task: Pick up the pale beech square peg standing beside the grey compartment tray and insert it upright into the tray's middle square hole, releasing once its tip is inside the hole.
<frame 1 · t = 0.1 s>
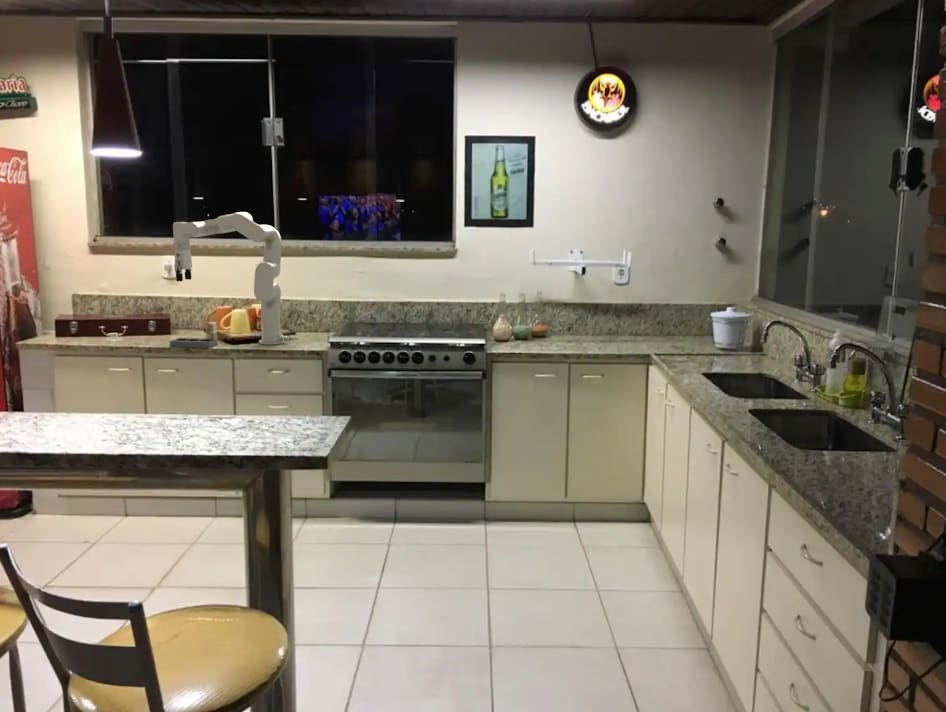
hand: (183, 280, 394), 31 cm above the worktop, fingers open, 9 cm apart
beech peg: (212, 342, 395), on the worktop
grey compartment tray: (194, 345, 383), on the worktop
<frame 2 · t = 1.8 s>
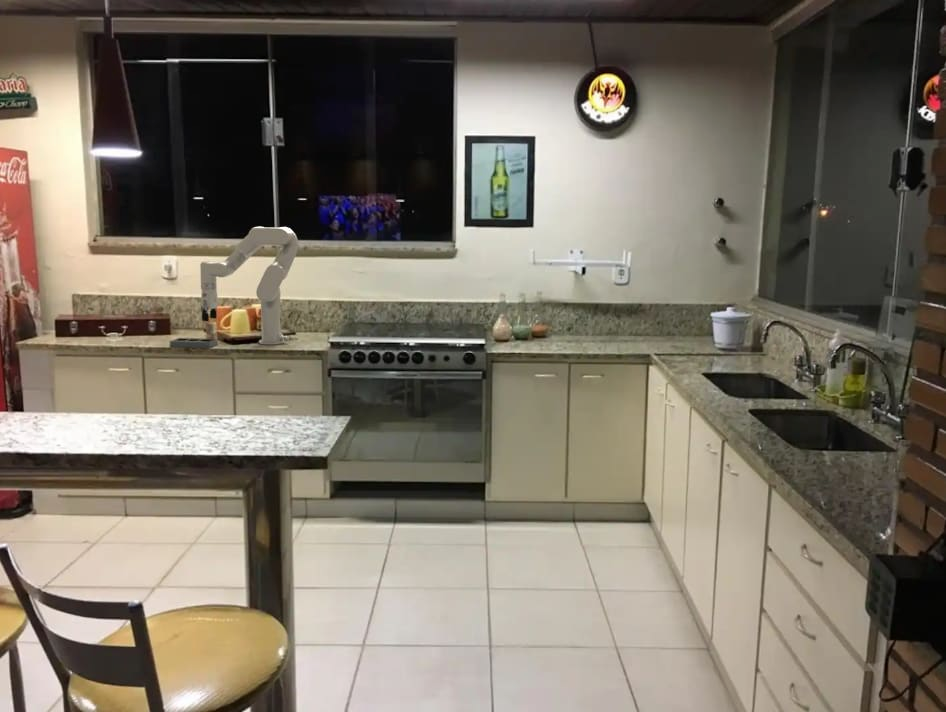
hand: (209, 319, 393), 12 cm above the worktop, fingers open, 9 cm apart
nothing on the worktop moved.
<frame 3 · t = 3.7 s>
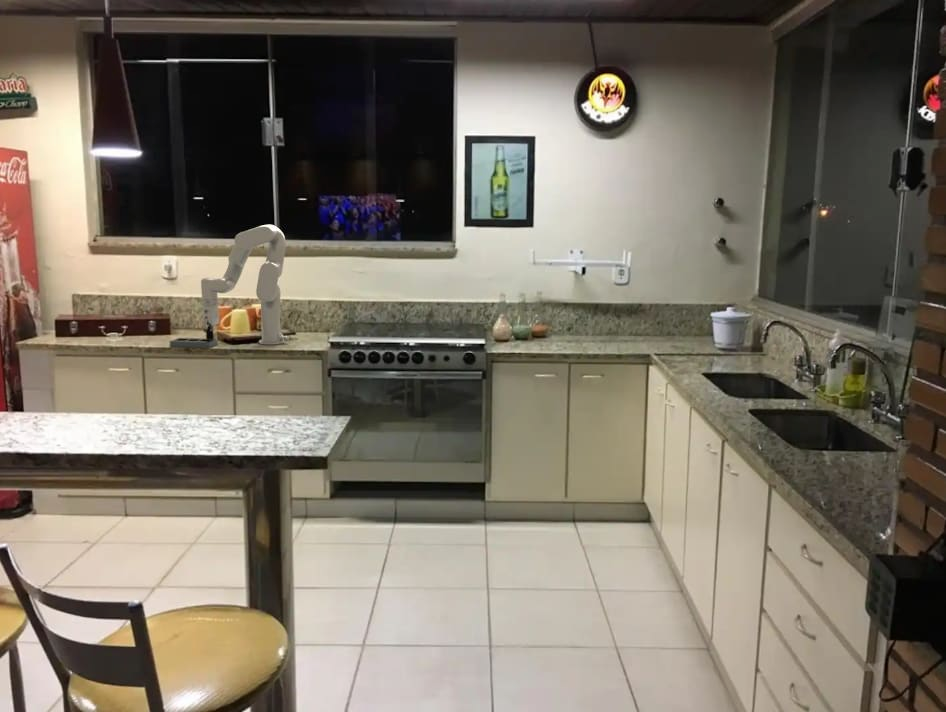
hand: (211, 337, 394), 2 cm above the worktop, fingers closed on beech peg, 4 cm apart
beech peg: (212, 341, 395), on the worktop, touching gripper
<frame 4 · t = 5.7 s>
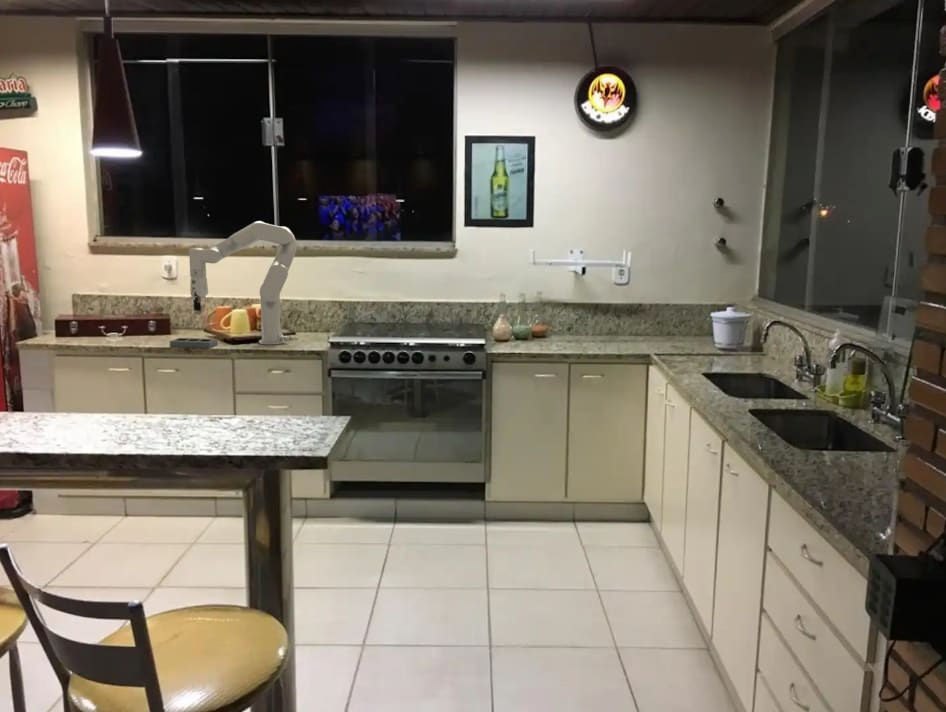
hand: (199, 309, 385), 18 cm above the worktop, fingers closed on beech peg, 4 cm apart
beech peg: (199, 313, 385), point 15 cm above the worktop, touching gripper
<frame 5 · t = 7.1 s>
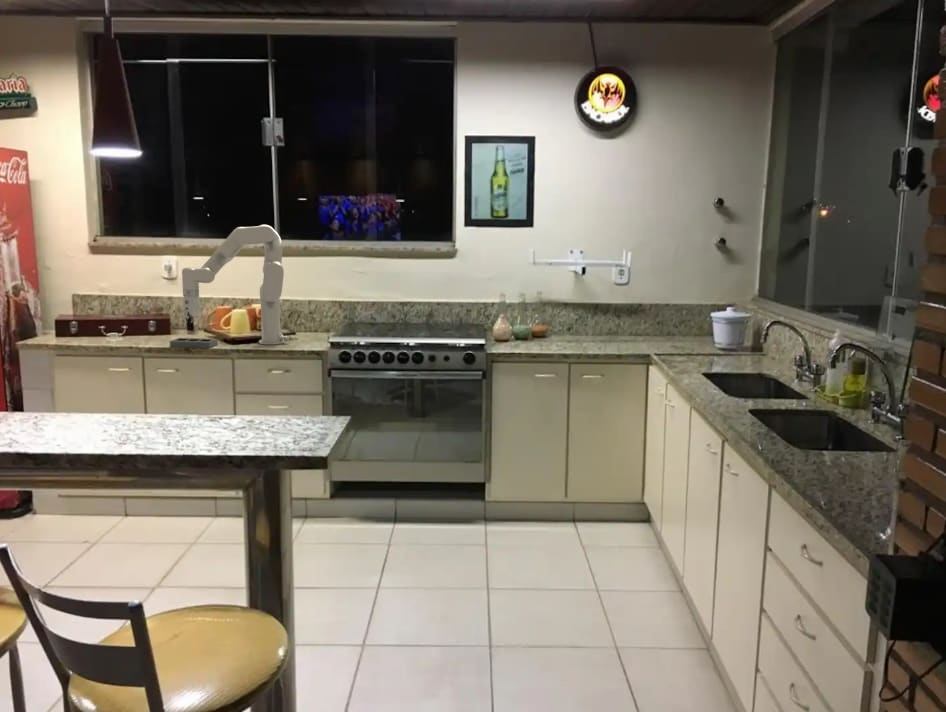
hand: (192, 329, 382), 8 cm above the worktop, fingers closed on beech peg, 4 cm apart
beech peg: (192, 333, 382), point 6 cm above the worktop, touching gripper
when the fingers open (4 cm above the worktop, at t = 8.1 s): beech peg drops 2 cm, resting in grey compartment tray.
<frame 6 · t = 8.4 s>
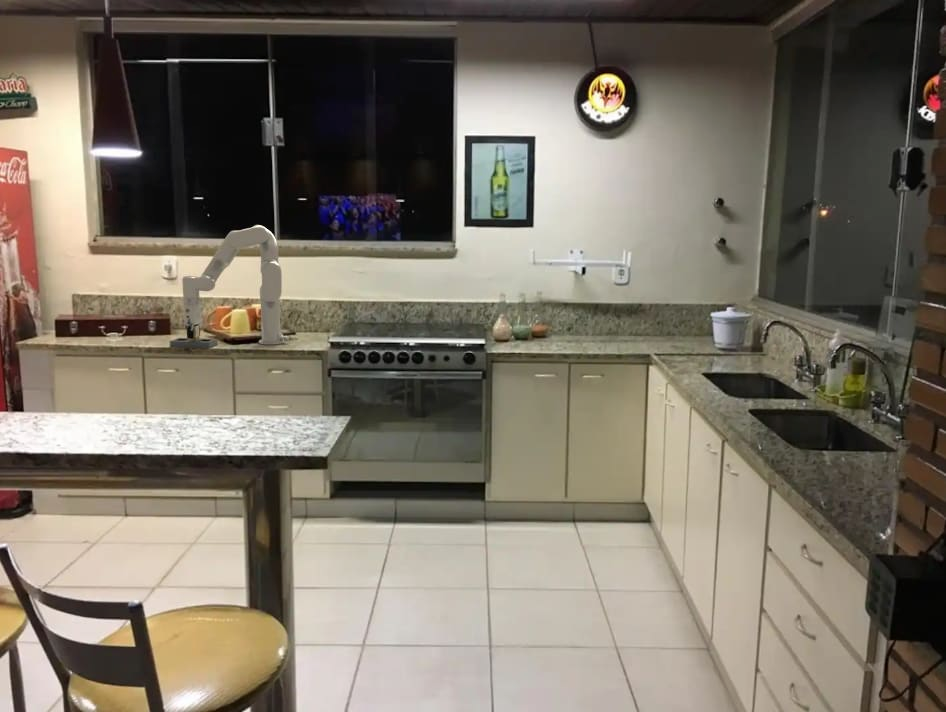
hand: (193, 336, 383), 5 cm above the worktop, fingers open, 6 cm apart
beech peg: (194, 346, 384), resting in grey compartment tray
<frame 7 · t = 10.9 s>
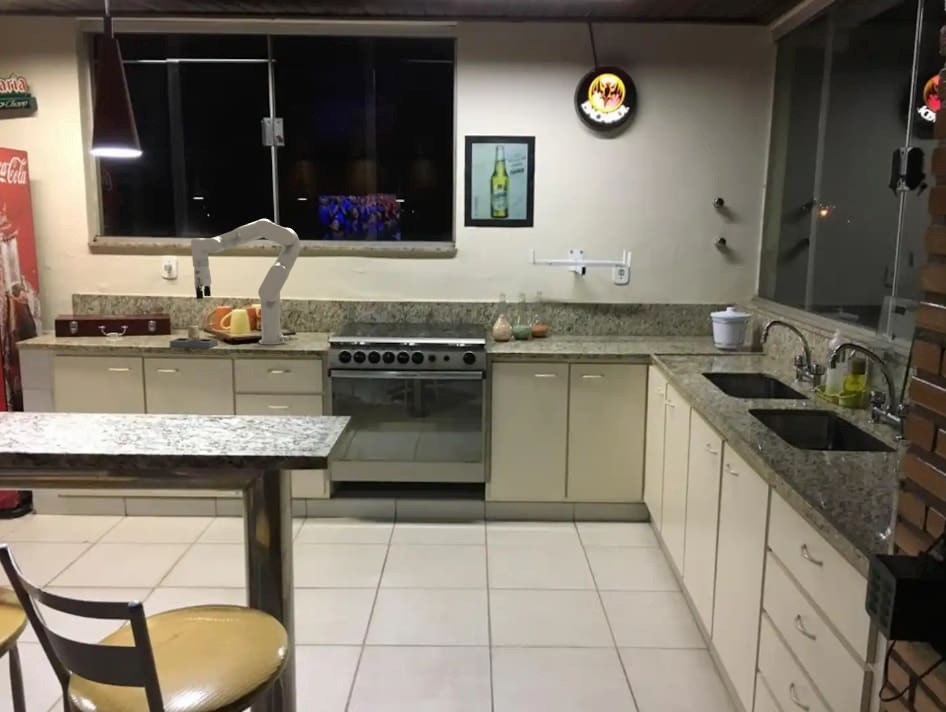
hand: (203, 297, 386), 23 cm above the worktop, fingers open, 9 cm apart
nothing on the worktop moved.
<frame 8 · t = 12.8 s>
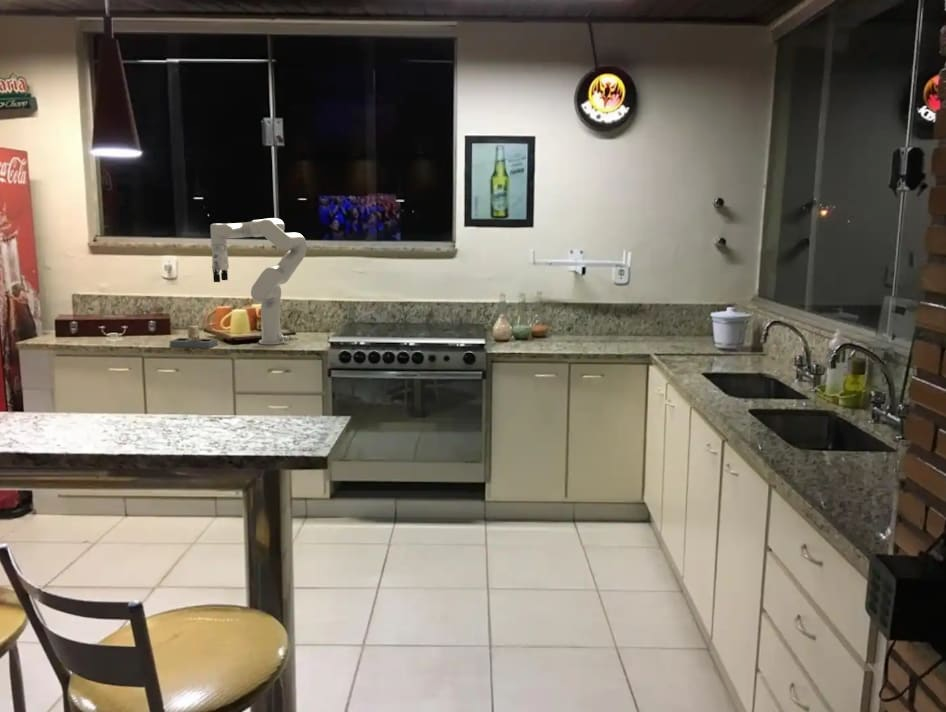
hand: (220, 281, 398), 30 cm above the worktop, fingers open, 9 cm apart
nothing on the worktop moved.
at the end: beech peg 0.1 cm off-centre on the grey compartment tray, point 0.0 cm above the grey compartment tray's base; beech peg tilted 0°; the gripper is holding nothing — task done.
